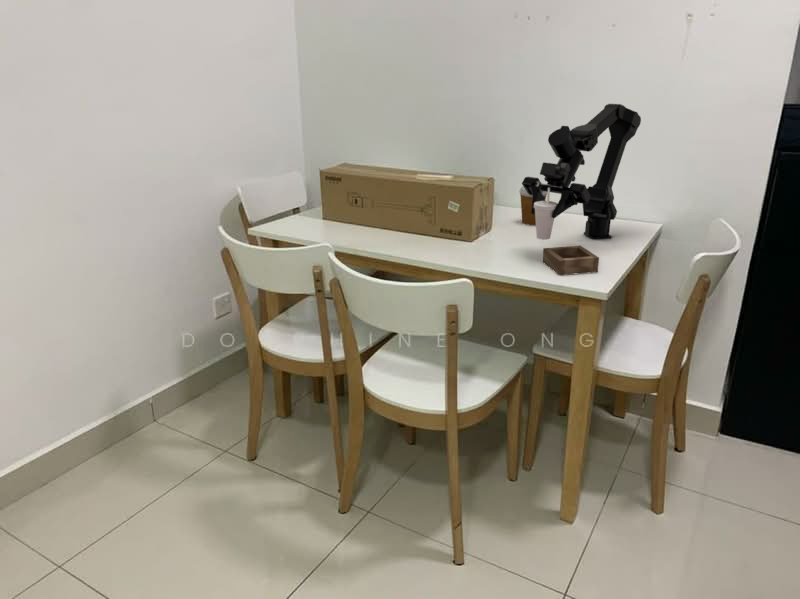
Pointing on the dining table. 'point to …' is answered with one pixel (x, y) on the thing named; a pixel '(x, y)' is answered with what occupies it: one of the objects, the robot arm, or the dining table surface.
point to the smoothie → (544, 217)
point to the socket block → (570, 260)
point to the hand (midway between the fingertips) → (542, 215)
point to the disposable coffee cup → (528, 206)
